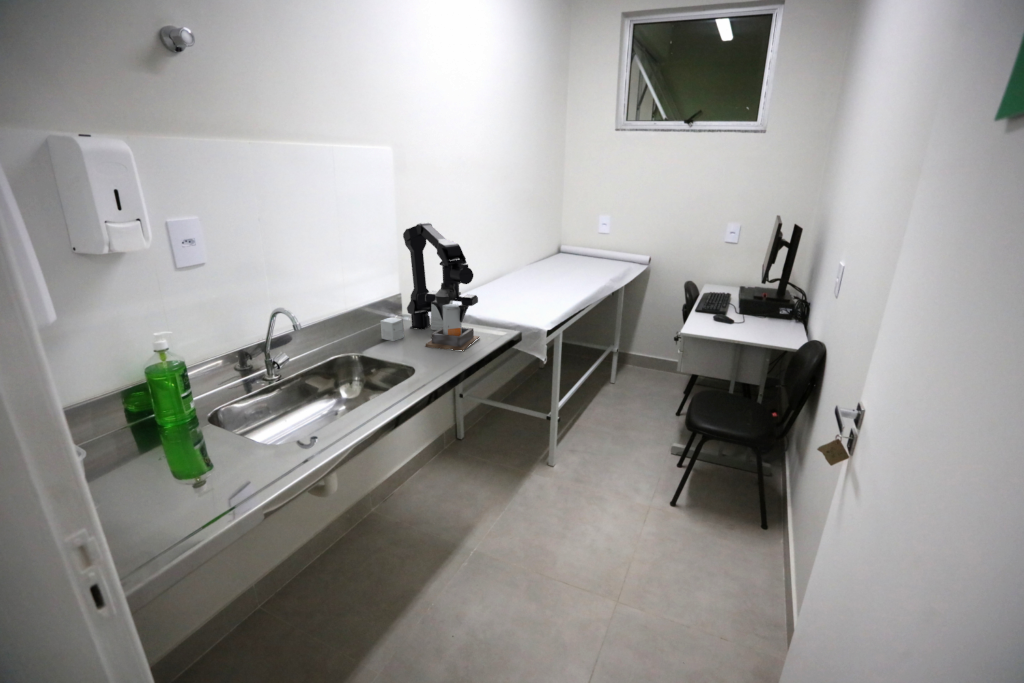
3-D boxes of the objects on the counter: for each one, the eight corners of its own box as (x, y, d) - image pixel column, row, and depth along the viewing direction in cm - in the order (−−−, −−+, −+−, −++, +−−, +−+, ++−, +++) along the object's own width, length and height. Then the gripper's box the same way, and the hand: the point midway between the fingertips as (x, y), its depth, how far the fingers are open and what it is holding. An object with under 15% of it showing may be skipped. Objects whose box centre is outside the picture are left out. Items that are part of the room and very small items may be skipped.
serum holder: (425, 346, 184) (424, 334, 183) (444, 334, 197) (443, 323, 196) (463, 351, 179) (462, 339, 178) (479, 338, 193) (479, 327, 191)
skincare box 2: (446, 339, 185) (445, 307, 181) (443, 336, 188) (441, 305, 184) (462, 337, 187) (461, 306, 183) (458, 334, 191) (457, 303, 187)
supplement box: (452, 326, 208) (453, 296, 204) (448, 331, 201) (449, 301, 197) (434, 324, 208) (435, 294, 204) (429, 329, 201) (431, 299, 197)
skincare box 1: (393, 341, 189) (392, 323, 187) (381, 339, 192) (379, 320, 190) (404, 337, 194) (403, 318, 192) (392, 334, 197) (391, 316, 195)
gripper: (416, 281, 176) (418, 324, 181) (465, 286, 170) (466, 330, 176) (431, 275, 186) (433, 316, 191) (478, 279, 180) (478, 321, 185)
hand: (452, 320), depth 186 cm, fingers closed on skincare box 2, 7 cm apart
